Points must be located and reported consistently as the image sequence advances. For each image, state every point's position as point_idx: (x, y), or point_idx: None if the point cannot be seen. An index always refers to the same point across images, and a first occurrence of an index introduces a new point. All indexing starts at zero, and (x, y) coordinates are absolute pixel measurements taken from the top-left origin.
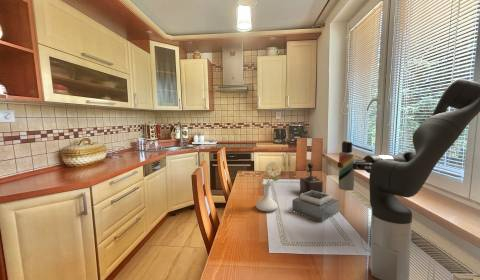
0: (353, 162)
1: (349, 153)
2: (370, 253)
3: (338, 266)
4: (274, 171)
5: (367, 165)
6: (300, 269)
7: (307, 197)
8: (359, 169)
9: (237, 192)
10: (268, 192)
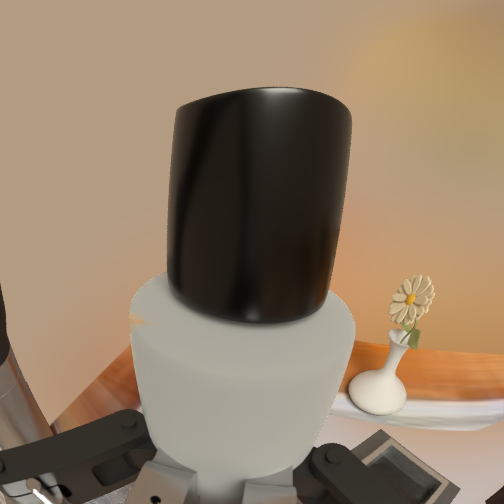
0: (143, 410)
1: (161, 277)
2: (44, 419)
3: (93, 408)
4: (405, 306)
5: (12, 456)
6: (123, 365)
7: (368, 456)
8: (97, 464)
9: (456, 356)
10: (389, 363)
